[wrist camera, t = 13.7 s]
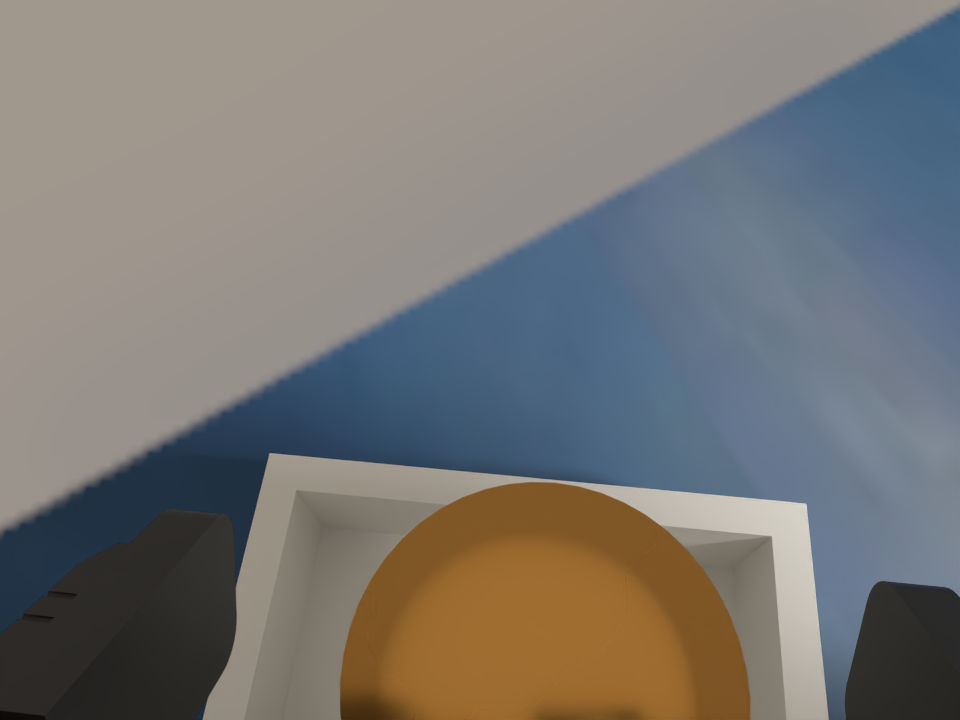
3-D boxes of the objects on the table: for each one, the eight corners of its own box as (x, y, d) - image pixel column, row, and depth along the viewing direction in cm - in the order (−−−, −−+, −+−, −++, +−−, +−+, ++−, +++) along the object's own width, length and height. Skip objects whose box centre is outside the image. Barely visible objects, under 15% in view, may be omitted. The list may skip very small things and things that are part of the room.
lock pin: (589, 662, 18) (738, 500, 7) (583, 831, 16) (766, 957, 5) (445, 646, 18) (376, 465, 7) (426, 812, 16) (300, 897, 6)
